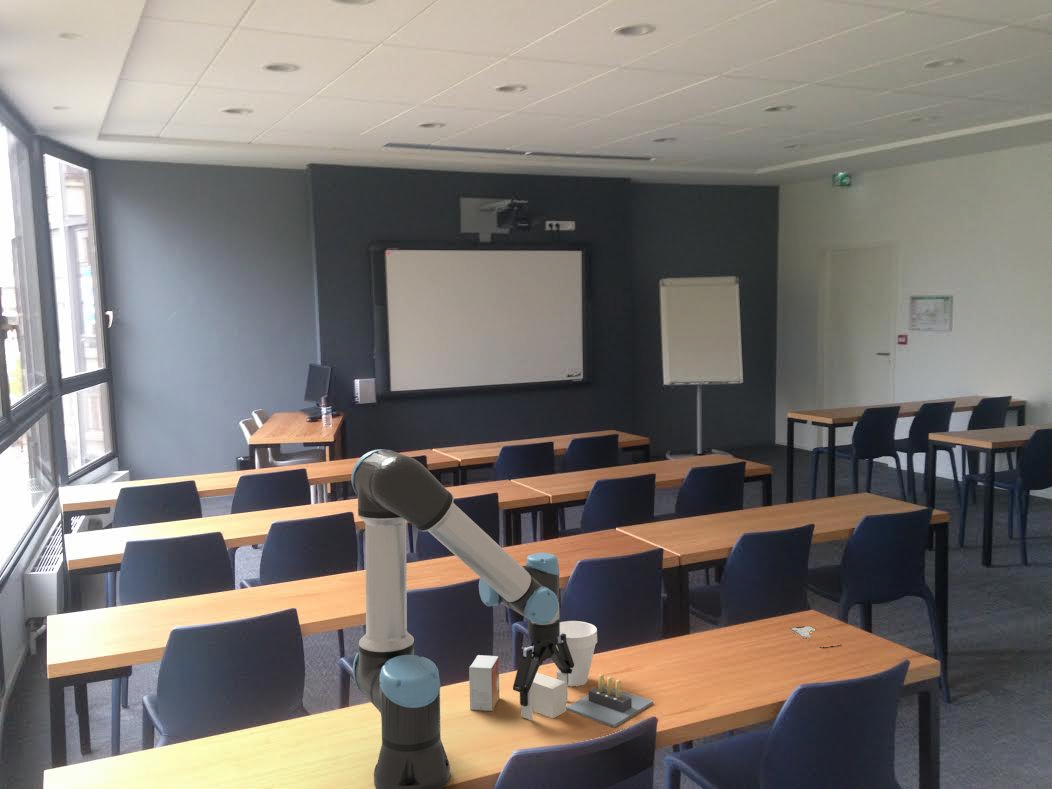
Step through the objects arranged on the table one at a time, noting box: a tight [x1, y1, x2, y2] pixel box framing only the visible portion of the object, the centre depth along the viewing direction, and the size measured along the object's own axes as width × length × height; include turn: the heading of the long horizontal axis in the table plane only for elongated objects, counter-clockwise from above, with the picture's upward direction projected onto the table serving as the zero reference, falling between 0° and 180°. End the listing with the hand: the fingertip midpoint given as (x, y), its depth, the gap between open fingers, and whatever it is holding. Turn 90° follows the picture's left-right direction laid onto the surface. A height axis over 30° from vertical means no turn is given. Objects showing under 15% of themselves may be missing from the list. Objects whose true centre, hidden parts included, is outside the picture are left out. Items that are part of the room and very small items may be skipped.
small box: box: [468, 654, 500, 712], centre depth 200 cm, size 8×6×10 cm
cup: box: [556, 620, 598, 687], centre depth 212 cm, size 12×12×14 cm
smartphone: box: [789, 625, 831, 641], centre depth 240 cm, size 7×1×15 cm
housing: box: [525, 671, 567, 719], centre depth 197 cm, size 5×9×7 cm, turn 48°
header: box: [566, 673, 654, 728], centre depth 198 cm, size 16×14×7 cm
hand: (545, 708), depth 197 cm, fingers open, 12 cm apart
